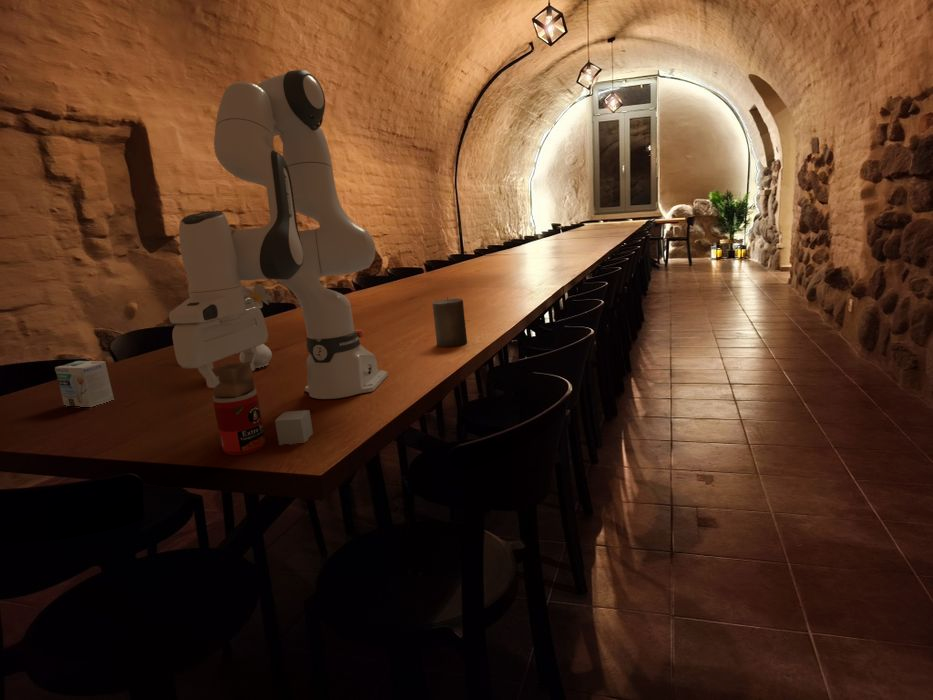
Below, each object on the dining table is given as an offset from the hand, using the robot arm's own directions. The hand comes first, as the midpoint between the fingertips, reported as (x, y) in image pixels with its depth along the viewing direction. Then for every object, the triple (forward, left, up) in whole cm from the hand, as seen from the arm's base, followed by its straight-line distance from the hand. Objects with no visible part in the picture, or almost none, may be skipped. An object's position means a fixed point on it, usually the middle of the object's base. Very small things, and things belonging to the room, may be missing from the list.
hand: (232, 378), depth 107 cm
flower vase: (-57, -42, -14) cm, 72 cm away
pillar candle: (-84, +12, -14) cm, 86 cm away
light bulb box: (-22, -67, -14) cm, 72 cm away
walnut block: (0, 0, -3) cm, 3 cm away
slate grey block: (-5, +8, -14) cm, 17 cm away
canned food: (0, 0, -14) cm, 14 cm away
